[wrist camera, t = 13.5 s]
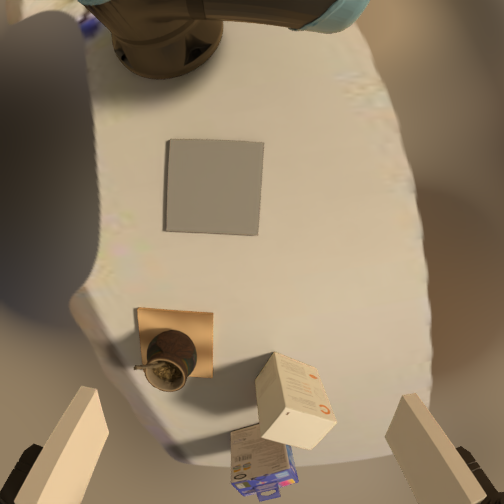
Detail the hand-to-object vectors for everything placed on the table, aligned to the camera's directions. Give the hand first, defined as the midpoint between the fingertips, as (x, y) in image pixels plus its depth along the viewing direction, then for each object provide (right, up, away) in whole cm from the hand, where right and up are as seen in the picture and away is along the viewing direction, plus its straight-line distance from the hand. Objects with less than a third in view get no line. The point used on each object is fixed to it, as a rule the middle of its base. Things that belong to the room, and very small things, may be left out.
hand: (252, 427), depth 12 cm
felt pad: (-5, +16, +29) cm, 33 cm away
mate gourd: (-11, -6, +33) cm, 36 cm away
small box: (+5, -12, +36) cm, 38 cm away
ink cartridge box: (+1, -25, +39) cm, 47 cm away
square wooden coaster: (-11, -6, +34) cm, 36 cm away
